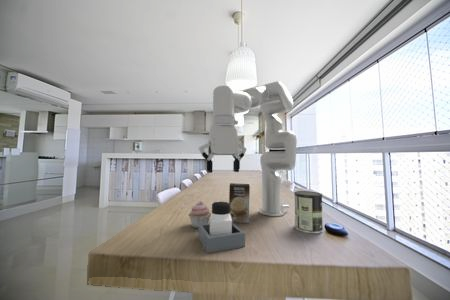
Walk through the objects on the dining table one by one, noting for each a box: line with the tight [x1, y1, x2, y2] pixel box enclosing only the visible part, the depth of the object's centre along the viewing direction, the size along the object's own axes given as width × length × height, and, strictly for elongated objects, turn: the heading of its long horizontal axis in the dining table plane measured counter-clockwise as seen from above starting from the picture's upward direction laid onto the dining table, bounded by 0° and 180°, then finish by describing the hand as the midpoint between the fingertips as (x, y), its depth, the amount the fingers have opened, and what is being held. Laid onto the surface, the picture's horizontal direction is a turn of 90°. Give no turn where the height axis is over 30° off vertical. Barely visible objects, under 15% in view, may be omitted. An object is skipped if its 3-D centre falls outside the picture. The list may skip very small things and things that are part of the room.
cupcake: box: [188, 200, 212, 229], centre depth 74 cm, size 9×9×10 cm
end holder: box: [197, 222, 246, 254], centre depth 60 cm, size 12×12×4 cm
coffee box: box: [228, 182, 251, 224], centre depth 82 cm, size 9×6×16 cm
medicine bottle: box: [209, 200, 233, 237], centre depth 61 cm, size 7×7×12 cm
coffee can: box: [293, 190, 324, 235], centre depth 73 cm, size 10×10×14 cm
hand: (223, 172), depth 63 cm, fingers open, 9 cm apart
